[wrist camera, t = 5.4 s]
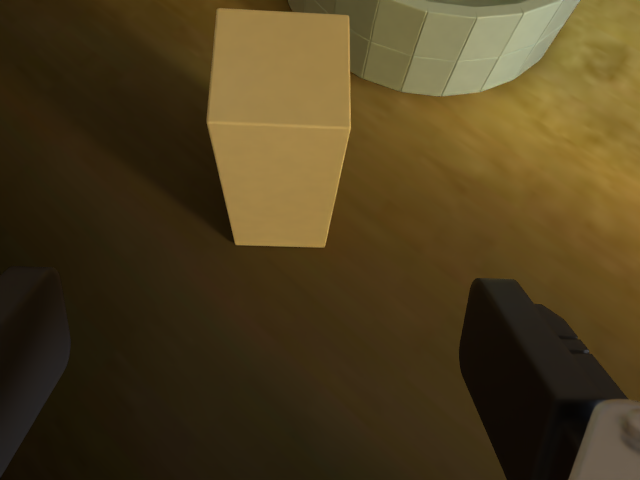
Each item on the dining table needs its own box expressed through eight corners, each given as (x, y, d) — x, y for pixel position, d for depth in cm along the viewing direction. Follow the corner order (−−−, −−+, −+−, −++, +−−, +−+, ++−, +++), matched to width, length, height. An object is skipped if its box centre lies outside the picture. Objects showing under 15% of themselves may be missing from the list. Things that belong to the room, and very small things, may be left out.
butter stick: (325, 168, 26) (349, 13, 17) (325, 248, 25) (351, 128, 15) (239, 164, 26) (216, 6, 17) (234, 245, 25) (205, 122, 15)
